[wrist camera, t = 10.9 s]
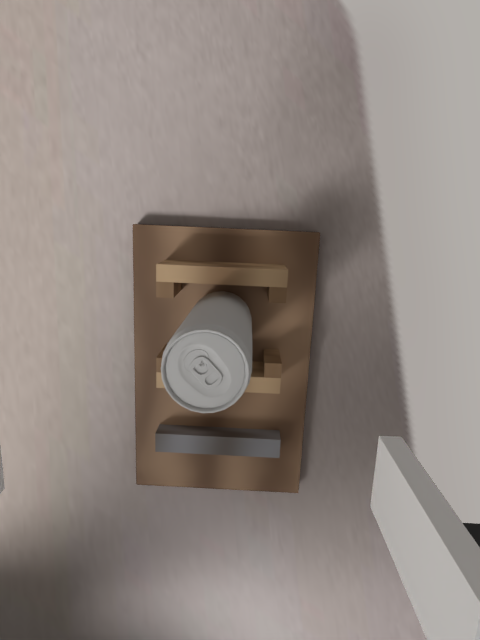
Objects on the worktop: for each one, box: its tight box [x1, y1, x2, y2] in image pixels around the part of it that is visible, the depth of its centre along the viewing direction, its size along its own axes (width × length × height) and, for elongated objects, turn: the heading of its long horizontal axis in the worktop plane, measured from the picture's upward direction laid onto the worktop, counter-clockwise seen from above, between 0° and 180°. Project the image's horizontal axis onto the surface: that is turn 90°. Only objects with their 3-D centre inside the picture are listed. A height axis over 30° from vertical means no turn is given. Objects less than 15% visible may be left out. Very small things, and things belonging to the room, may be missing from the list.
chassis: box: [133, 224, 320, 493], centre depth 33 cm, size 14×22×5 cm, turn 177°
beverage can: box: [161, 291, 252, 413], centre depth 28 cm, size 5×5×12 cm
